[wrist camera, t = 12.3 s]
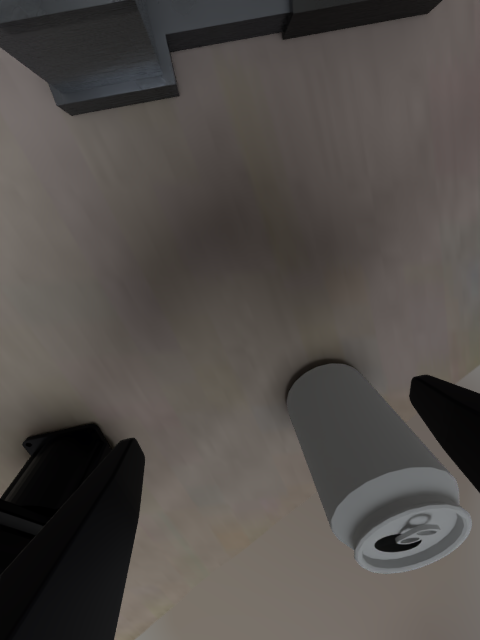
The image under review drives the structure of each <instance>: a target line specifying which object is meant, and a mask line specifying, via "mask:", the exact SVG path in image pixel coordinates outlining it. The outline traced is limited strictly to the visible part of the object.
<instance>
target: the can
mask: <svg viewBox="0 0 480 640" xmlns="http://www.w3.org/2000/svg"><path fill="white" fill-rule="evenodd" d="M286 402H287V409H288V413H289V416H290V418H291V421H292V424H293V427H294V429H295V432H296V435H297V437H298V440H299V443H300V446H301V448H302V451H303V454H304V456H305V459H306V462H307V464H308V467H309V470H310V473H311V475H312V478H313V481H314V483H315V486H316V489H317V492H318V494H319V497H320V500H321V502H322V505H323V508H324V510H325V513H326V516H327V519H328V521H329V524H330V527H331V529H332V532H333V533H334V534H335V535H336V537H337V538H338V539H339V540H340V541H341V542H343V543H345V544H346V545H347V546H349V547H350V548H352V549H353V550H354V558H355V560H356V561H357V562H358V564H359V565H360V566H361V567H363V568H365V569H367V570H369V571H371V572H375V573H384V574H388V573H401V572H405V571H409V570H413V569H418V568H420V567H423V566H426V565H428V564H431V563H433V562H435V561H437V560H439V559H441V558H443V557H445V556H446V555H448V554H449V553H451V552H452V551H453V550H455V549H456V548H457V547H459V546H460V545H461V543H462V542H463V541H464V540H465V539H466V538H467V536H468V535H469V532H470V530H471V527H472V521H471V517H470V514H469V513H468V512H467V511H466V510H465V509H463V508H462V507H461V506H459V489H458V485H457V482H456V479H455V478H454V477H453V476H452V474H451V473H450V472H449V471H448V470H447V469H446V468H445V467H444V466H443V464H442V463H441V462H440V461H439V460H438V459H437V458H436V457H435V456H434V455H433V453H432V452H431V451H430V450H429V449H428V448H427V447H426V445H425V444H424V443H423V442H422V441H421V440H420V439H419V438H418V437H417V436H416V434H415V433H414V432H413V431H412V430H411V429H410V428H409V427H408V425H407V424H406V423H405V422H404V421H403V420H402V419H401V418H400V416H399V415H398V414H397V413H396V412H395V411H394V410H393V409H392V408H391V406H390V405H389V404H388V403H387V402H386V401H385V400H384V399H383V397H382V396H381V395H380V394H379V393H378V392H377V391H376V390H375V389H374V387H373V386H372V385H371V384H370V383H369V382H368V381H367V380H366V378H365V377H364V376H363V375H362V374H361V373H360V372H359V371H357V370H356V369H355V368H353V367H351V366H348V365H345V364H334V363H330V364H326V365H322V366H318V367H316V368H314V369H312V370H310V371H308V372H306V373H304V374H303V375H302V376H301V377H300V378H299V379H298V380H296V381H295V383H294V384H293V386H292V387H291V389H290V391H289V393H288V397H287V401H286Z"/></svg>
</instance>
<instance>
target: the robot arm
mask: <svg viewBox="0 0 480 640" xmlns="http://www.w3.org/2000/svg"><path fill="white" fill-rule="evenodd" d="M409 397H410V401H411V403H412V405H413V406H414V408H415V409H416V411H417V412H418V414H419V415H420V416H421V418H422V419H423V421H424V422H425V424H426V425H427V426H428V428H429V430H430V431H431V432H432V434H433V435H434V437H435V438H436V440H437V441H438V442H439V443H440V445H441V446H442V448H443V449H444V450H445V451H446V453H447V454H448V455H449V457H450V458H451V459H452V460H453V461H454V462H455V464H456V465H457V466H458V467H459V469H460V470H461V471H462V472H463V473H464V475H465V476H466V477H467V478H468V479H469V481H470V482H471V483H472V484H473V485H474V486H475V488H476V489H477V490H478V491H479V493H480V394H479V393H477V392H474V391H471V390H468V389H466V388H462V387H460V386H457V385H455V384H452V383H449V382H446V381H444V380H441V379H438V378H435V377H433V376H430V375H421V376H416V377H413V379H412V381H411V388H410V395H409ZM22 445H23V446H24V448H25V449H26V450H27V451H28V453H29V454H30V455H31V457H30V458H29V460H28V461H27V462H26V464H25V465H24V467H23V468H22V469H21V471H20V472H19V473H18V475H17V476H16V477H15V479H14V480H13V482H12V483H11V484H10V486H9V487H8V488H7V490H6V491H5V492H4V494H3V495H2V497H1V498H0V640H114V637H115V632H116V627H117V622H118V617H119V612H120V607H121V603H122V598H123V593H124V588H125V583H126V578H127V573H128V568H129V563H130V558H131V554H132V549H133V544H134V539H135V534H136V529H137V524H138V518H139V512H140V503H141V494H142V485H143V475H144V466H145V456H144V453H143V451H142V449H141V448H140V446H139V444H138V442H137V440H136V439H135V438H129V439H124V440H121V441H120V442H119V443H118V444H117V445H116V446H115V447H114V448H113V450H111V448H110V446H109V445H108V443H107V441H106V439H105V438H104V436H103V434H102V433H101V431H100V429H99V428H98V426H97V425H95V424H88V425H83V426H78V427H74V428H69V429H64V430H60V431H55V432H51V433H46V434H41V435H37V436H32V437H28V438H26V440H25V441H24V442H23V444H22Z"/></svg>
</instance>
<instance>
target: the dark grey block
mask: <svg viewBox="0 0 480 640" xmlns="http://www.w3.org/2000/svg"><path fill="white" fill-rule="evenodd" d="M0 47H1V48H2V49H3V50H5V51H6V52H7V53H9V54H10V55H11V56H13V57H14V58H15V59H17V60H18V61H19V62H21V63H22V64H23V65H25V66H26V67H28V68H29V69H30V70H32V71H33V72H34V73H36V74H37V75H38V76H40V77H41V78H42V79H44V80H45V81H46V82H48V83H49V84H50V85H52V86H53V87H54V88H56V89H57V90H58V91H60V92H61V93H62V94H63V93H68V92H73V91H79V90H84V89H89V88H95V87H100V86H105V85H111V84H116V83H121V82H127V81H132V80H137V79H143V78H148V77H153V76H158V75H163V72H162V68H161V64H160V60H159V55H158V51H157V47H156V43H155V38H154V34H153V30H152V26H151V21H150V17H149V13H148V9H147V4H146V0H0Z"/></svg>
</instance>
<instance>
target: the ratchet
mask: <svg viewBox="0 0 480 640" xmlns="http://www.w3.org/2000/svg"><path fill="white" fill-rule="evenodd" d="M441 1H442V0H146V4H147V9H148V13H149V17H150V21H151V26H152V30H153V34H154V38H155V43H156V47H157V51H158V55H159V60H160V64H161V68H162V72H163V75H158V76H153V77H148V78H143V79H137V80H132V81H127V82H121V83H116V84H111V85H105V86H100V87H95V88H89V89H84V90H79V91H73V92H68V93H63V94H62V93H61V92H60V91H58V90H57V89H56V88H54V87H53V86H52V85H50V84H49V83H48V84H49V87H50V89H51V92H52V94H53V97H54V100H55V102H56V105H57V106H58V107H60V108H61V109H63V110H64V111H66V112H67V113H69V114H70V115H72V116H73V115H78V114H84V113H89V112H95V111H100V110H105V109H111V108H116V107H122V106H127V105H133V104H138V103H144V102H149V101H154V100H160V99H165V98H171V97H176V96H179V91H178V87H177V82H176V77H175V73H174V68H173V63H172V59H171V54H170V52H174V51H180V50H186V49H191V48H197V47H202V46H208V45H213V44H219V43H224V42H230V41H235V40H241V39H247V38H252V37H258V36H263V35H269V34H274V33H280V32H282V38H283V40H284V39H290V38H296V37H301V36H307V35H312V34H318V33H323V32H329V31H334V30H340V29H345V28H351V27H356V26H362V25H367V24H373V23H378V22H384V21H389V20H395V19H401V18H406V17H412V16H417V15H423V14H428V13H429V12H430V11H431V10H432V9H433V8H434V7H436V6H437V5H438V4H439V3H440V2H441Z"/></svg>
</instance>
